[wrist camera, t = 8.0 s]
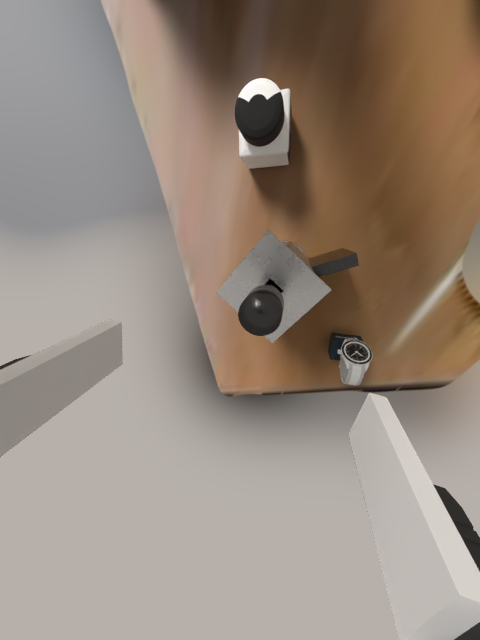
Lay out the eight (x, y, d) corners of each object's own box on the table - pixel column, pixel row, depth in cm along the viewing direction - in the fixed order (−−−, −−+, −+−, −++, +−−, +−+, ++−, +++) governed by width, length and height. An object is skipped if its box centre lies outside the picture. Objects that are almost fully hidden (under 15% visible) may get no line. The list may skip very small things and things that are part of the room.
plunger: (277, 238, 40) (255, 246, 19) (313, 271, 41) (330, 315, 20) (246, 274, 44) (197, 315, 23) (279, 305, 44) (262, 373, 23)
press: (297, 205, 41) (297, 189, 25) (345, 252, 42) (374, 265, 26) (240, 272, 47) (212, 292, 32) (283, 311, 48) (276, 350, 32)
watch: (362, 327, 46) (381, 354, 36) (354, 362, 49) (369, 396, 39) (332, 324, 47) (342, 349, 37) (326, 358, 50) (333, 390, 40)
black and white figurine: (289, 165, 39) (286, 139, 28) (248, 169, 41) (230, 146, 30) (291, 112, 37) (289, 61, 26) (247, 119, 38) (227, 74, 27)
